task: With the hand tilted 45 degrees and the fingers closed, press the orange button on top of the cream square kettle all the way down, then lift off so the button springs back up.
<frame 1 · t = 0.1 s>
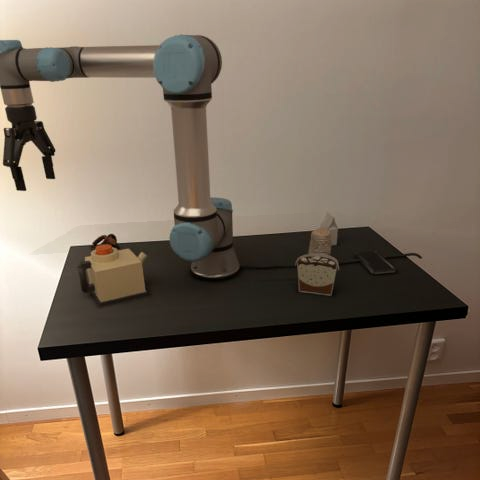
hand: (36, 184, 144), 28 cm above the table, tool pointing down, fingers open, 13 cm apart
food container: (317, 289, 144), on the table
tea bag: (328, 242, 177), on the table
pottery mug: (109, 255, 170), on the table
kettle handle and spout: (118, 291, 145), on the table
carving: (318, 267, 158), on the table
phone: (374, 264, 159), on the table
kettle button: (104, 250, 140), point 13 cm above the table, slide at 0.2 cm
kettle: (118, 291, 145), on the table
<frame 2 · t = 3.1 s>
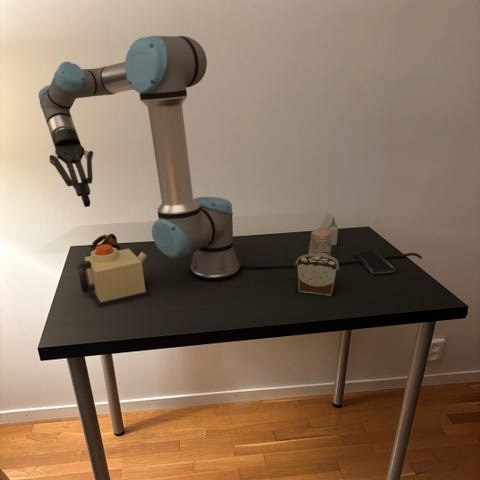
hand: (87, 204, 144), 23 cm above the table, tool tilted 45°, fingers closed
nothing on the table moved.
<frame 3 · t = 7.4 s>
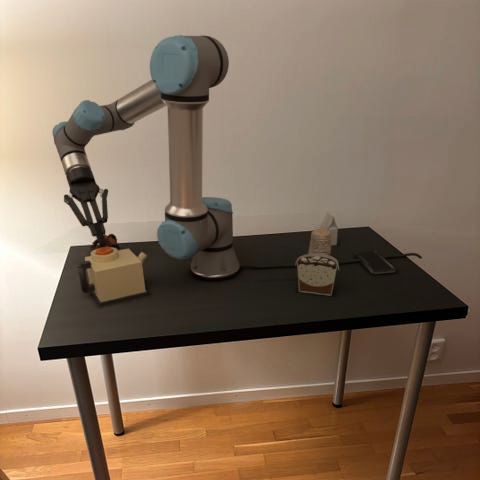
hand: (102, 245, 139), 14 cm above the table, tool tilted 45°, fingers closed
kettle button: (104, 252, 140), point 12 cm above the table, slide at -0.6 cm, touching gripper
everything else where it was.
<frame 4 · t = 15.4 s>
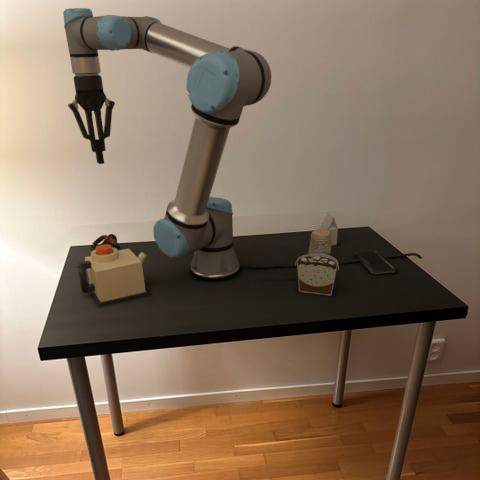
hand: (100, 162, 147), 32 cm above the table, tool pointing down, fingers closed
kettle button: (104, 250, 140), point 13 cm above the table, slide at 0.1 cm
everything else where it was.
at the end: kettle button pushed in 1.3 cm at the most during the clip, back to where it started at the end; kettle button slide at 0.1 cm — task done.
